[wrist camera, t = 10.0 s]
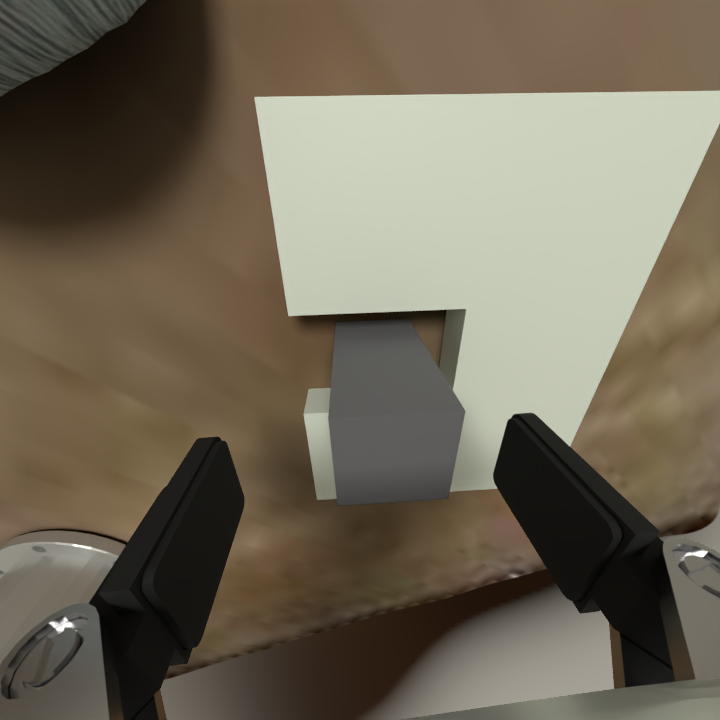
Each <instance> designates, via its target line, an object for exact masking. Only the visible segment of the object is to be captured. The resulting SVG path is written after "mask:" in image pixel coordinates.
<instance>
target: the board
mask: <svg viewBox="0 0 720 720" xmlns="http://www.w3.org/2000/svg"><path fill="white" fill-rule="evenodd" d="M255 104H256V110H257V117H258V123H259V130H260V136H261V142H262V149H263V155H264V162H265V168H266V175H267V181H268V188H269V194H270V200H271V207H272V213H273V220H274V226H275V233H276V239H277V245H278V252H279V258H280V265H281V271H282V278H283V284H284V291H285V297H286V303H287V310H288V316H300V315H325V314H350V313H375V312H400V311H425V310H447V311H446V318H445V326H444V334H443V341H442V349H441V357H440V365H439V369H440V371H441V372H442V374H443V375H444V377H445V379H446V380H447V382H448V383H449V385H450V387H451V388H452V390H453V392H454V393H455V395H456V396H457V398H458V400H459V401H460V403H461V404H462V406H463V408H464V409H465V416H464V422H463V427H462V432H461V437H460V442H459V447H458V452H457V457H456V462H455V467H454V473H453V478H452V483H451V488H450V492H452V491H467V490H483V489H498V488H497V487H496V485H495V483H494V480H493V472H494V468H495V465H496V461H497V457H498V454H499V450H500V446H501V443H502V439H503V435H504V432H505V428H506V424H507V421H508V420H509V419H511V417H512V416H513V415H514V414H520V413H534V414H535V415H537V416H538V417H539V418H540V419H541V420H542V421H543V422H544V423H545V424H546V425H547V426H548V427H550V428H551V429H552V430H553V431H554V432H555V433H556V434H557V435H558V436H559V437H560V438H561V439H562V440H563V441H564V442H565V443H567V444H568V445H569V446H570V445H571V443H572V441H573V439H574V436H575V434H576V432H577V430H578V428H579V426H580V424H581V421H582V419H583V417H584V415H585V413H586V411H587V408H588V406H589V404H590V402H591V400H592V398H593V395H594V393H595V391H596V389H597V387H598V385H599V383H600V380H601V378H602V376H603V374H604V372H605V370H606V367H607V365H608V363H609V361H610V359H611V357H612V354H613V352H614V350H615V348H616V346H617V344H618V342H619V339H620V337H621V335H622V333H623V331H624V329H625V326H626V324H627V322H628V320H629V318H630V316H631V313H632V311H633V309H634V307H635V305H636V303H637V300H638V298H639V296H640V294H641V292H642V290H643V288H644V285H645V283H646V281H647V279H648V277H649V275H650V272H651V270H652V268H653V266H654V264H655V262H656V259H657V257H658V255H659V253H660V251H661V249H662V247H663V244H664V242H665V240H666V238H667V236H668V234H669V231H670V229H671V227H672V225H673V223H674V221H675V218H676V216H677V214H678V212H679V210H680V208H681V206H682V203H683V201H684V199H685V197H686V195H687V193H688V190H689V188H690V186H691V184H692V182H693V180H694V177H695V175H696V173H697V171H698V169H699V167H700V164H701V162H702V160H703V158H704V156H705V154H706V152H707V149H708V147H709V145H710V143H711V141H712V139H713V136H714V134H715V132H716V130H717V128H718V126H719V123H720V91H668V92H592V93H517V94H442V95H367V96H292V97H255ZM329 401H330V388H315V389H309V390H308V395H307V400H306V405H305V410H304V419H305V426H306V432H307V439H308V445H309V452H310V458H311V464H312V471H313V477H314V484H315V490H316V497H317V500H325V499H337V497H336V488H335V478H334V469H333V460H332V450H331V441H330V431H329V422H328V414H329Z"/></svg>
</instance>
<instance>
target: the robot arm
mask: <svg viewBox="0 0 720 720" xmlns="http://www.w3.org/2000/svg"><path fill="white" fill-rule="evenodd" d="M493 480H494V483H495V485H496V487H497V488H498V490H499V492H500V493H501V495H502V496H503V498H504V500H505V501H506V503H507V504H508V506H509V508H510V509H511V511H512V513H513V514H514V516H515V517H516V519H517V521H518V522H519V524H520V525H521V527H522V529H523V530H524V532H525V534H526V535H527V537H528V538H529V540H530V542H531V543H532V545H533V546H534V548H535V550H536V551H537V553H538V555H539V556H540V558H541V559H542V561H543V563H544V564H545V566H546V567H547V569H548V571H549V572H550V574H551V576H552V577H553V579H554V580H555V582H556V584H557V585H558V587H559V588H560V590H561V592H562V593H563V594H564V596H565V597H566V598H567V599H569V600H571V601H573V603H574V604H575V606H576V608H577V609H578V611H579V613H588V612H596V611H600V610H601V611H602V613H603V614H604V616H605V617H606V618H607V620H608V621H609V627H610V640H611V653H612V665H613V678H614V689H611V690H604V691H597V692H590V693H582V694H575V695H568V696H561V697H554V698H547V699H540V700H533V701H526V702H518V703H512V704H504V705H498V706H491V707H484V708H477V709H470V710H464V711H456V712H450V713H443V714H436V715H429V716H423V717H416V718H409V719H402V720H720V553H718V552H717V551H715V550H713V549H711V548H709V547H707V546H705V545H703V544H700V543H699V542H695V541H692V540H689V539H686V538H678V537H673V538H669V539H667V540H666V541H665V542H663V541H661V539H660V538H658V537H657V535H658V534H659V532H660V531H659V530H658V529H657V528H656V527H655V526H654V525H652V524H651V523H650V522H649V521H648V520H647V519H646V518H645V517H644V516H643V515H642V514H641V513H640V512H639V511H638V510H637V509H635V508H634V507H633V506H632V505H631V504H630V503H629V502H628V501H627V500H626V499H625V498H624V497H623V496H622V495H621V494H620V493H618V492H617V491H616V490H615V489H614V488H613V487H612V486H611V485H610V484H609V483H608V482H607V481H606V480H605V479H604V478H603V477H602V476H600V475H599V474H598V473H597V472H596V471H595V470H594V469H593V468H592V467H591V466H590V465H589V464H588V463H587V462H586V461H585V460H583V459H582V458H581V457H580V456H579V455H578V454H577V453H576V452H575V451H574V450H573V449H572V448H571V447H570V446H569V445H568V444H567V443H565V442H564V441H563V440H562V439H561V438H560V437H559V436H558V435H557V434H556V433H555V432H554V431H553V430H552V429H551V428H550V427H548V426H547V425H546V424H545V423H544V422H543V421H542V420H541V419H540V418H539V417H538V416H537V415H535V414H534V413H520V414H514V415H513V416H512V417H511V419H509V420H508V421H507V424H506V428H505V432H504V435H503V439H502V443H501V446H500V450H499V454H498V457H497V461H496V465H495V468H494V472H493ZM243 508H244V495H243V491H242V488H241V485H240V482H239V479H238V476H237V473H236V470H235V467H234V464H233V461H232V458H231V455H230V451H229V448H228V445H227V443H226V442H225V441H221V439H220V438H219V437H208V438H199V439H197V440H196V441H195V443H194V444H193V446H192V448H191V449H190V451H189V452H188V454H187V455H186V457H185V458H184V460H183V462H182V463H181V465H180V466H179V468H178V469H177V471H176V472H175V474H174V476H173V477H172V479H171V480H170V482H169V483H168V485H167V486H166V487H165V488H164V489H163V490H162V491H161V493H160V494H159V495H158V497H157V498H156V500H155V502H154V503H153V505H152V506H151V508H150V509H149V511H148V512H147V514H146V515H145V517H144V518H143V520H142V522H141V523H140V525H139V526H138V528H137V529H136V531H135V532H134V534H133V535H132V537H131V538H130V540H129V542H128V543H127V545H125V544H123V543H120V542H118V541H115V540H112V539H109V538H105V537H101V536H97V535H93V534H88V533H82V532H75V531H60V530H56V531H39V532H33V533H27V534H24V535H21V536H18V537H15V538H13V539H11V540H9V541H8V542H6V543H5V544H4V545H3V546H2V547H1V548H0V720H167V719H166V714H165V710H164V706H163V701H162V696H161V692H160V688H161V686H162V683H163V680H164V678H165V675H166V672H167V670H168V667H169V666H171V665H179V664H187V663H188V660H189V657H190V654H191V651H192V648H194V647H197V646H198V644H199V643H200V641H201V639H202V636H203V633H204V630H205V627H206V624H207V621H208V618H209V615H210V611H211V608H212V605H213V602H214V599H215V596H216V593H217V590H218V586H219V583H220V580H221V577H222V574H223V571H224V568H225V565H226V561H227V558H228V555H229V552H230V549H231V546H232V543H233V540H234V537H235V533H236V530H237V527H238V524H239V521H240V518H241V515H242V512H243Z"/></svg>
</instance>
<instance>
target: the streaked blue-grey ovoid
mask: <svg viewBox="0 0 720 720" xmlns="http://www.w3.org/2000/svg"><path fill="white" fill-rule="evenodd" d="M146 1H147V0H0V97H1V96H2V95H4V94H5V93H7V92H8V91H10V90H12V89H14V88H15V87H17V86H19V85H21V84H23V83H24V82H26V81H28V80H30V79H32V78H34V77H37V76H39V75H42V74H44V73H47V72H49V71H50V70H52V69H53V68H55V67H56V66H58V65H59V64H61V63H62V62H64V61H65V60H67V59H69V58H71V57H73V56H74V55H76V54H78V53H80V52H82V51H84V50H86V49H87V48H89V47H90V46H91V45H92V44H94V43H95V42H96V41H97V40H98V39H100V38H101V37H102V36H103V35H104V34H105V33H106V32H108V31H110V30H112V29H114V28H116V27H119V26H121V25H123V24H125V23H127V22H128V20H129V19H130V18H131V17H132V15H133V14H134V13H135V12H136V10H137V9H138V8H139V7H140V6H141V5H142V4H143V3H145V2H146Z"/></svg>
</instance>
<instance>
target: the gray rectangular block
mask: <svg viewBox="0 0 720 720" xmlns="http://www.w3.org/2000/svg"><path fill="white" fill-rule="evenodd" d="M464 416H465V409H464V408H463V406H462V404H461V403H460V401H459V400H458V398H457V396H456V395H455V393H454V392H453V390H452V388H451V387H450V385H449V383H448V382H447V380H446V379H445V377H444V375H443V374H442V372H441V371H440V369H439V367H438V366H437V364H436V362H435V361H434V359H433V358H432V356H431V354H430V353H429V351H428V350H427V348H426V346H425V345H424V343H423V342H422V340H421V338H420V337H419V335H418V333H417V332H416V330H415V329H414V327H413V325H412V324H411V322H410V321H409V319H391V320H368V321H346V322H336V324H335V337H334V350H333V363H332V376H331V388H330V401H329V414H328V422H329V431H330V441H331V450H332V460H333V469H334V478H335V488H336V497H337V506H347V505H362V504H378V503H393V502H408V501H423V500H438V499H448V498H449V493H450V488H451V483H452V478H453V473H454V467H455V462H456V457H457V452H458V447H459V442H460V437H461V432H462V427H463V422H464Z"/></svg>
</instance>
